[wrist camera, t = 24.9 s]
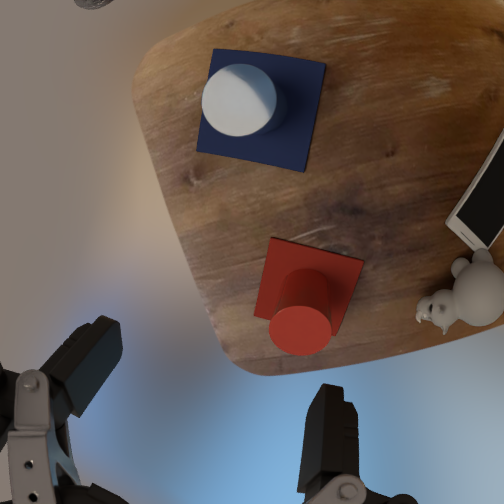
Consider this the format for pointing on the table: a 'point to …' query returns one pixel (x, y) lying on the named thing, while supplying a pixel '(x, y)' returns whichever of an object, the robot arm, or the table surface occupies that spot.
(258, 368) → the table surface
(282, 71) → the blue mat
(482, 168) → the smartphone
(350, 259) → the red mat
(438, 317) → the toy rhinoceros
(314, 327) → the red cylinder
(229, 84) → the grey-blue cylinder
